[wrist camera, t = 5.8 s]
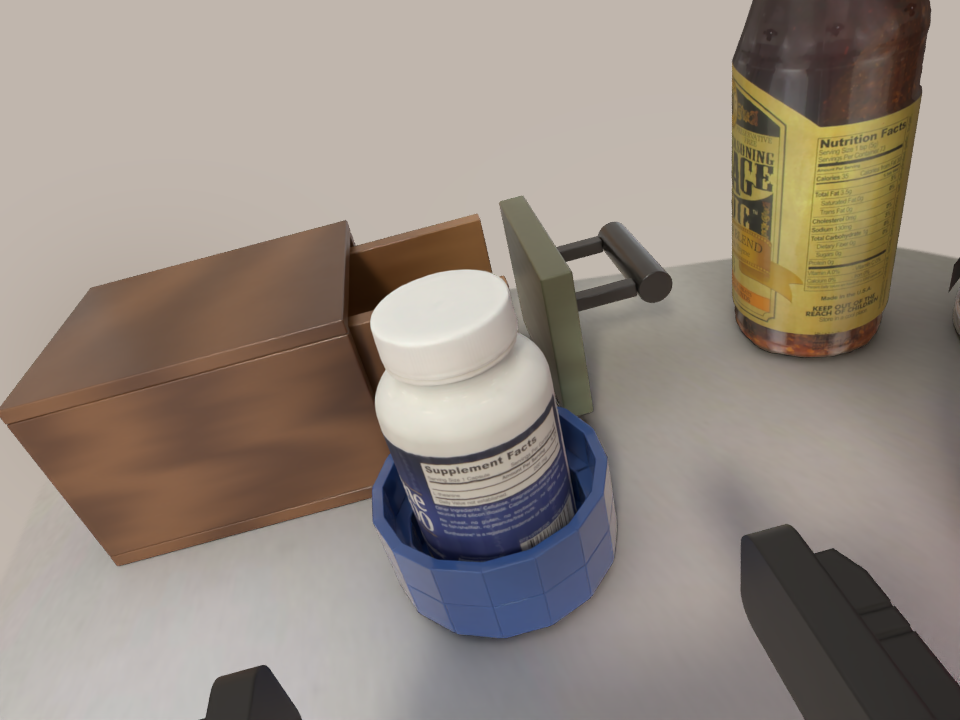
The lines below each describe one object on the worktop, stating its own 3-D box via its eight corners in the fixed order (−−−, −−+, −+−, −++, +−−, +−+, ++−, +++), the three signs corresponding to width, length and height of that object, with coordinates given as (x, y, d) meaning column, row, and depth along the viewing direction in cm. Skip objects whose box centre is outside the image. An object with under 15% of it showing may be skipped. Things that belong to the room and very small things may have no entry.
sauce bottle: (732, 293, 34) (730, -204, 23) (873, 289, 32) (944, -264, 21) (731, 371, 29) (728, -214, 18) (898, 372, 27) (1009, -295, 16)
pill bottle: (432, 496, 26) (355, 278, 21) (568, 471, 26) (523, 242, 21) (430, 616, 22) (330, 378, 16) (593, 588, 21) (545, 334, 16)
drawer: (623, 294, 35) (610, 171, 31) (692, 385, 28) (685, 240, 24) (334, 371, 35) (286, 257, 31) (327, 484, 27) (265, 352, 24)
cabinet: (395, 362, 36) (346, 219, 31) (407, 488, 27) (342, 319, 23) (172, 422, 35) (90, 287, 31) (117, 567, 27) (-5, 412, 23)
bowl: (581, 445, 27) (569, 377, 25) (651, 605, 21) (642, 529, 19) (395, 495, 27) (370, 431, 25) (408, 672, 21) (374, 602, 19)
